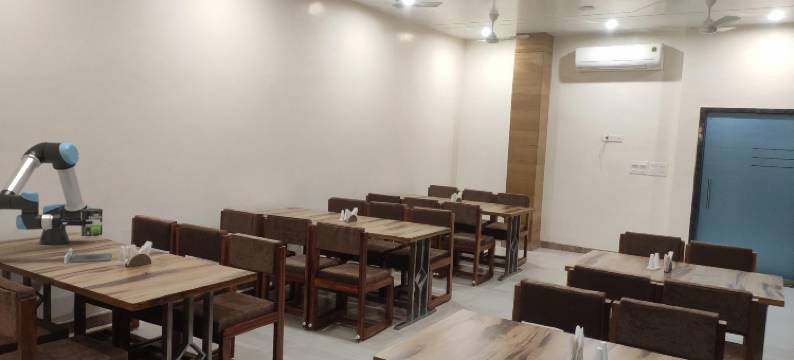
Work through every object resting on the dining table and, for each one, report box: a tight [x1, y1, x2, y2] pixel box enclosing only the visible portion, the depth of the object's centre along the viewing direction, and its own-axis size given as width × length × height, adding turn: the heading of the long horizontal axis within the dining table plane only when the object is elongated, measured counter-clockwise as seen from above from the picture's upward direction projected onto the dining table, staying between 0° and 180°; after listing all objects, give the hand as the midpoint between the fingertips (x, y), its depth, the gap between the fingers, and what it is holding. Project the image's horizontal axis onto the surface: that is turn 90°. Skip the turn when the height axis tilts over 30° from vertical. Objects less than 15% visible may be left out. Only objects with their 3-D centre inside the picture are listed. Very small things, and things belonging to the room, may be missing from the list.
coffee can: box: [80, 208, 104, 239], centre depth 306 cm, size 10×10×14 cm
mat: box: [70, 252, 113, 263], centre depth 307 cm, size 18×18×1 cm
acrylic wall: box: [63, 247, 73, 265], centre depth 303 cm, size 24×1×4 cm, turn 23°
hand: (100, 220), depth 307 cm, fingers closed on coffee can, 10 cm apart
